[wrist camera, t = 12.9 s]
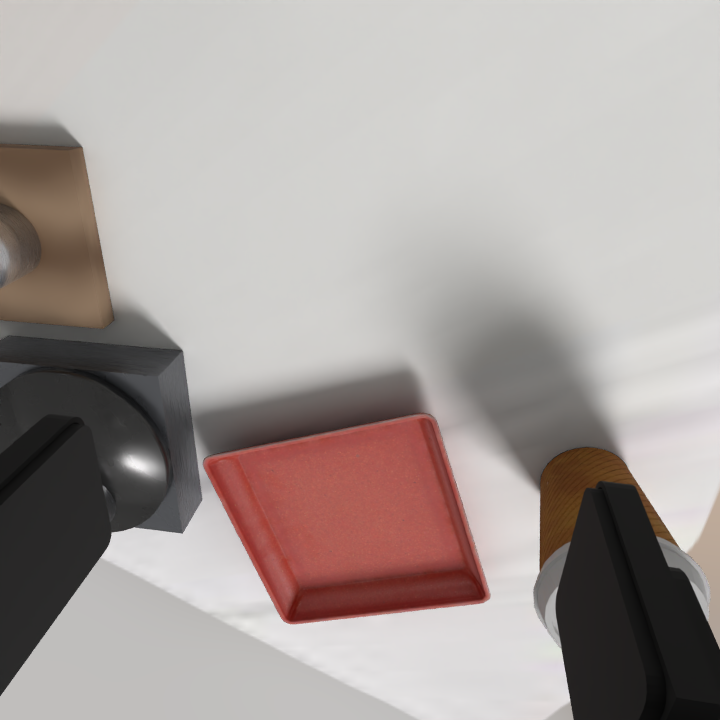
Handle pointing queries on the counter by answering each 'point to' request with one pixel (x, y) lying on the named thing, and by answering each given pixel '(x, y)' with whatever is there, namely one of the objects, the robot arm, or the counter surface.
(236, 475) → the plant saucer
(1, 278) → the cylinder
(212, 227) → the counter surface
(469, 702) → the counter surface
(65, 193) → the walnut board
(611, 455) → the disposable coffee cup
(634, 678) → the robot arm
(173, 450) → the scale
